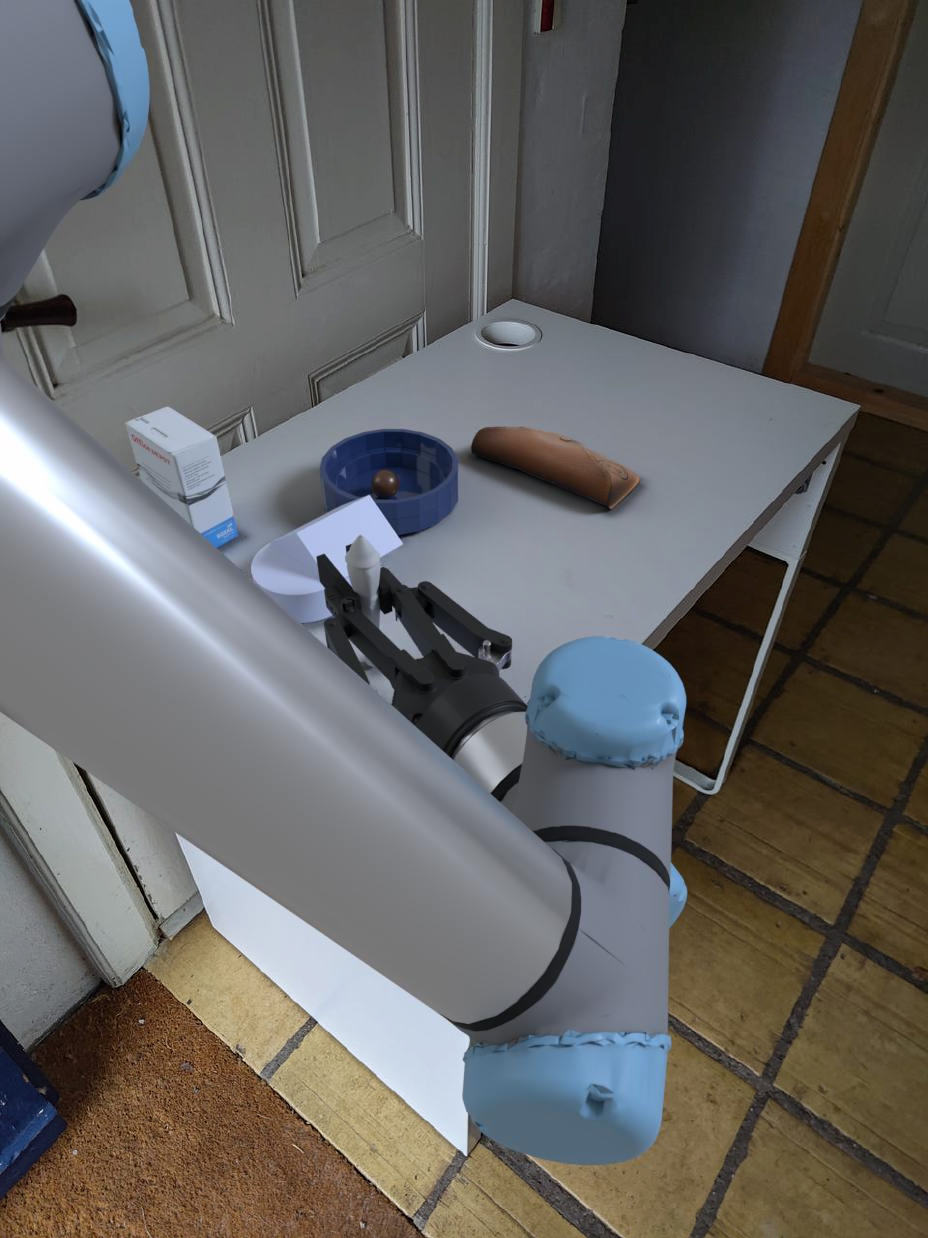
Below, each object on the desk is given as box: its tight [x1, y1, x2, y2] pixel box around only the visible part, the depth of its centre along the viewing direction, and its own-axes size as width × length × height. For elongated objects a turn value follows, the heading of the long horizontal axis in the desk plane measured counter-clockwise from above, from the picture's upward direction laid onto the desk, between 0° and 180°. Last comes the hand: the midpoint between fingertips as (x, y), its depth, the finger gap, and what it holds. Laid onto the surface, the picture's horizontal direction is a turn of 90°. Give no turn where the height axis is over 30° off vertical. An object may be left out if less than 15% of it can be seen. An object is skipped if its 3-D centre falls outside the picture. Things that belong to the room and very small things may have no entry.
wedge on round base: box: [250, 495, 404, 624], centre depth 80 cm, size 9×7×13 cm
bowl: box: [318, 428, 459, 536], centre depth 91 cm, size 14×14×4 cm
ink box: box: [124, 406, 239, 549], centre depth 84 cm, size 8×5×12 cm, turn 46°
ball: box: [371, 470, 399, 499], centre depth 91 cm, size 3×3×3 cm
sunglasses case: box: [470, 425, 641, 510], centre depth 95 cm, size 18×7×7 cm
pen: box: [345, 535, 381, 668], centre depth 69 cm, size 2×3×14 cm
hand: (336, 562), depth 72 cm, fingers closed on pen, 2 cm apart
